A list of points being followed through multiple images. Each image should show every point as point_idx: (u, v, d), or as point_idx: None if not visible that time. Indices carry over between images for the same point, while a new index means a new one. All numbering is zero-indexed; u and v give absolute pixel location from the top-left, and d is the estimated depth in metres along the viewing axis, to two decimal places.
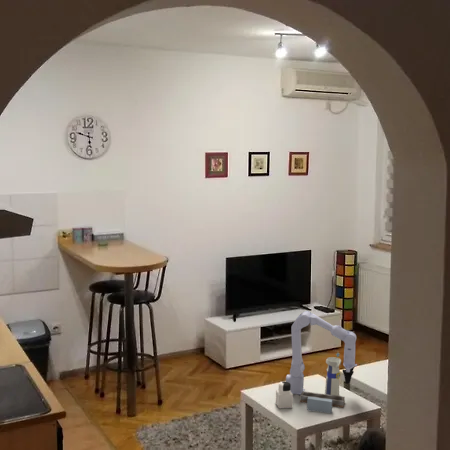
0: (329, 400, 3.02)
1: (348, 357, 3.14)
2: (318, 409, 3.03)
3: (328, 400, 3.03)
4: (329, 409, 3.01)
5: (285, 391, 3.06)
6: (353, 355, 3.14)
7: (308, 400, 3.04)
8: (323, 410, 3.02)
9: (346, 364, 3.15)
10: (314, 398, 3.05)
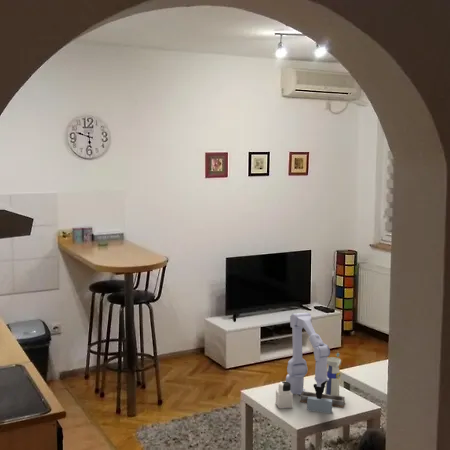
0: (329, 400, 3.02)
1: (319, 371, 2.99)
2: (318, 409, 3.03)
3: (328, 400, 3.03)
4: (329, 409, 3.01)
5: (285, 391, 3.06)
6: (320, 369, 2.99)
7: (308, 400, 3.04)
8: (323, 410, 3.02)
9: (317, 378, 3.00)
10: (314, 398, 3.05)
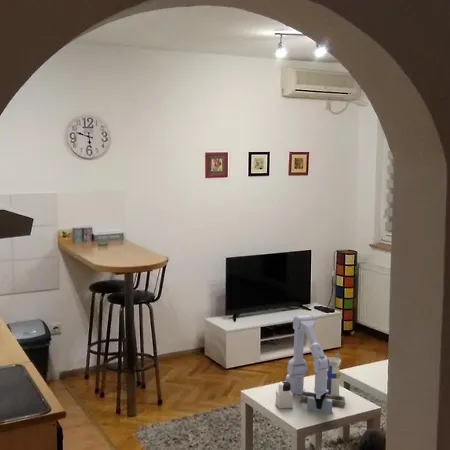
0: (329, 400, 3.02)
1: (319, 383, 3.00)
2: (318, 409, 3.03)
3: (328, 399, 3.03)
4: (329, 409, 3.01)
5: (285, 391, 3.06)
6: (319, 381, 3.00)
7: (308, 400, 3.04)
8: (323, 410, 3.02)
9: (317, 390, 3.01)
10: None
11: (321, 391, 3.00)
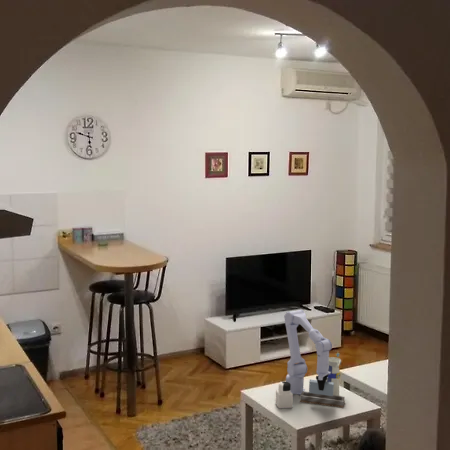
0: (331, 383, 3.08)
1: (321, 365, 3.06)
2: (320, 392, 3.09)
3: (329, 383, 3.09)
4: (331, 392, 3.07)
5: (285, 391, 3.06)
6: (323, 363, 3.06)
7: (310, 383, 3.10)
8: (325, 393, 3.08)
9: (319, 372, 3.07)
10: (316, 381, 3.11)
11: (323, 373, 3.06)
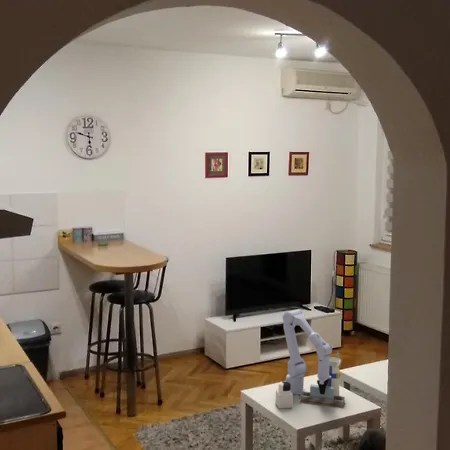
0: (331, 388, 3.13)
1: (322, 369, 3.10)
2: (321, 396, 3.13)
3: (330, 387, 3.13)
4: (331, 396, 3.12)
5: (285, 391, 3.06)
6: (325, 367, 3.10)
7: (311, 388, 3.14)
8: (325, 397, 3.13)
9: (320, 376, 3.11)
10: (317, 386, 3.15)
11: (324, 377, 3.10)
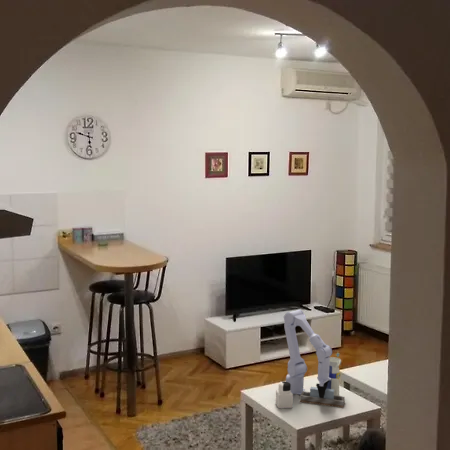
0: (331, 390, 3.13)
1: (322, 371, 3.10)
2: None
3: (330, 390, 3.13)
4: None
5: (285, 391, 3.06)
6: (325, 369, 3.10)
7: (311, 390, 3.14)
8: None
9: (320, 378, 3.11)
10: (317, 388, 3.15)
11: (324, 379, 3.11)
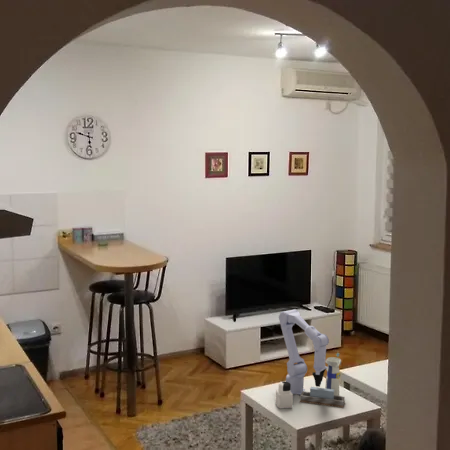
0: (331, 390, 3.13)
1: (318, 359, 3.09)
2: None
3: (330, 390, 3.13)
4: None
5: (285, 391, 3.06)
6: (320, 358, 3.09)
7: (311, 390, 3.14)
8: None
9: (316, 367, 3.10)
10: (317, 388, 3.15)
11: (320, 368, 3.09)
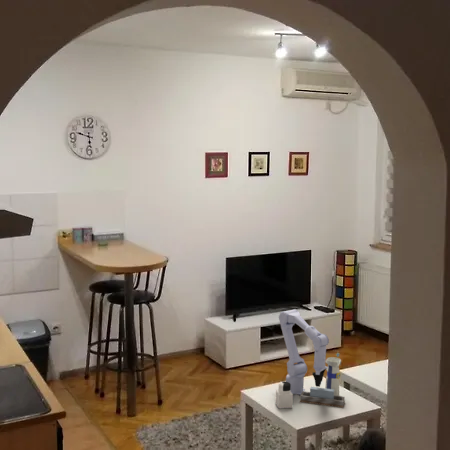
0: (331, 390, 3.13)
1: (318, 359, 3.09)
2: None
3: (330, 390, 3.13)
4: None
5: (285, 391, 3.06)
6: (320, 358, 3.09)
7: (311, 390, 3.14)
8: None
9: (316, 367, 3.10)
10: (317, 388, 3.15)
11: (320, 368, 3.09)
